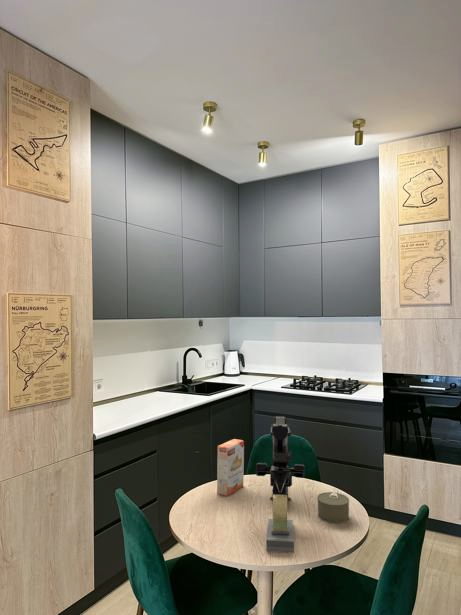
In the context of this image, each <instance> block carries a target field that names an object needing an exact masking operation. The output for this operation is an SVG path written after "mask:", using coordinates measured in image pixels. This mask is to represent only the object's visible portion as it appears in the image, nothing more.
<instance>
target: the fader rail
mask: <svg viewBox="0 0 461 615" xmlns="http://www.w3.org/2000/svg"><path fill="white" fill-rule="evenodd" d="M293 523H294V522H293V519H287V525H289V535H284V534H272V524H273V518H268V519H267V531H266V532H267V533H266V539H265V541H266V542H265V543H266V545H265V546H266V552H274V553H275V552H278V553H290V554H291V553H295V539H294V524H293Z"/></svg>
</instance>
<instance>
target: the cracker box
mask: <svg viewBox="0 0 461 615" xmlns="http://www.w3.org/2000/svg"><path fill="white" fill-rule="evenodd" d="M244 455H245V441H244V440H242V439H236V438H233V439H230V440H228V441H226V442H224V443H222V444H219V445H217V457H216V458H217V460H216V462H217V463H216V464H217V468H216V470H217V471H216V472H217V475H216V476H217V477H216V479H217V482H216V493H217V494H219V495H222V496H225V497H228V496H229V495H230V496H231V495H232V494H233V493H234V492H236V491H238V490H240V488H243V487H244V478H245V477H244V471H245V470H244V469H245V468H244V466H245V465H244V463H245V461H244V460H245V456H244Z"/></svg>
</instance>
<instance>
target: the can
mask: <svg viewBox="0 0 461 615" xmlns="http://www.w3.org/2000/svg"><path fill="white" fill-rule="evenodd" d="M316 498H317V516H318V518H319V519H320V520H322V521H324V522H326V523H332V524H342V523H345V522H347V521H349V518H350V517H349V516H350V515H349V514H350V511H349V509H350V508H349V507H350V506H349V505H350V498H349V497H348V496H346V495H345V494H342V493H339V492H330V491H329V492H328V491H327V492H322V493H319V494H318V495H317V497H316Z"/></svg>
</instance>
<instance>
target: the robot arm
mask: <svg viewBox="0 0 461 615" xmlns="http://www.w3.org/2000/svg"><path fill="white" fill-rule="evenodd" d="M290 436H292V431H291V429H290V423H289V422H288V420H286V416H274V420H273V421H272V422H271V426H270V437H272V466H267V462H257V463H256V464H255V475H256V476H257V477H265V476H266V475H267V473H270V475H269V478H270V480H269V481H270V483H269V484H270V485H269V486H270V487H272V492H271V494H272V496H270V498H269V499H270V500H271V501H273V494H279V495H287V502H288V501H291V499H292V498H291V497H289V488H291V486H293V475H292V474H294V477H295V478H300V479H302V478H303V479H304V478H305V474H306V466H305V465H304V464H298V463H297V464H296V463H295V464H294V465H293V466H294V467H289V464H288V463H289V462H288V461H292V451H289V450H288V441H289V440H288V439H289V438H290Z"/></svg>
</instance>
